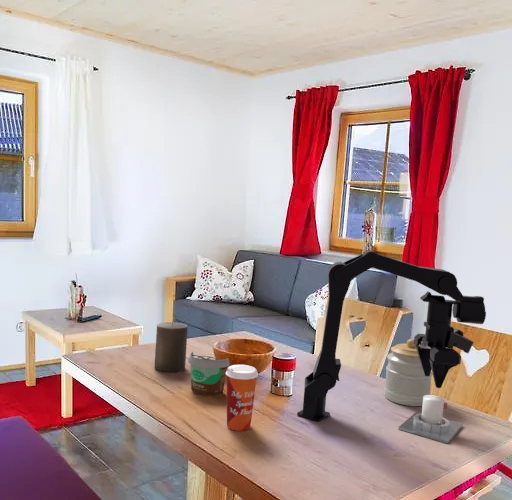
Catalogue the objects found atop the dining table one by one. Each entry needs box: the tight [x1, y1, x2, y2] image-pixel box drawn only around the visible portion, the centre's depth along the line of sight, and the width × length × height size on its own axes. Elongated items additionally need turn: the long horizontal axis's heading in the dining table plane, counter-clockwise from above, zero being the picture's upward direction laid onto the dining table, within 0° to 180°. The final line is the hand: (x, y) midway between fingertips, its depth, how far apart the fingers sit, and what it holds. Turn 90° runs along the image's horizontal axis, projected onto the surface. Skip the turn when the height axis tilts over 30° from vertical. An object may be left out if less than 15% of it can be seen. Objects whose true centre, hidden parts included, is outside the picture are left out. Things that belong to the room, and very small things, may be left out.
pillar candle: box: [154, 320, 189, 373], centre depth 170 cm, size 10×10×15 cm
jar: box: [383, 338, 433, 407], centre depth 156 cm, size 13×13×18 cm
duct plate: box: [398, 411, 464, 445], centre depth 135 cm, size 14×12×2 cm
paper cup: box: [226, 364, 259, 432], centre depth 128 cm, size 8×8×14 cm
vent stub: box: [421, 394, 448, 425], centre depth 135 cm, size 6×5×7 cm
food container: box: [187, 351, 231, 396], centre depth 149 cm, size 12×6×10 cm, turn 68°
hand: (432, 381), depth 135 cm, fingers open, 9 cm apart
